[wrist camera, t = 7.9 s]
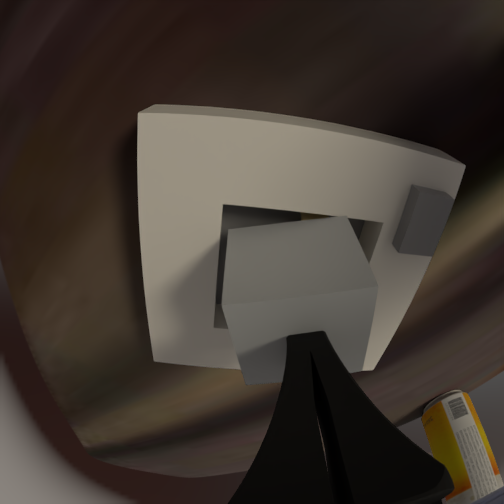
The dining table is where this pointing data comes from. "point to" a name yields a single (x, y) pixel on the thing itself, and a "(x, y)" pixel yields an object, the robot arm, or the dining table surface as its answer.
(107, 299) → the dining table surface
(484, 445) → the yellow supplement bottle
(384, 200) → the socket
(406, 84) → the dining table surface
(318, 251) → the plug
